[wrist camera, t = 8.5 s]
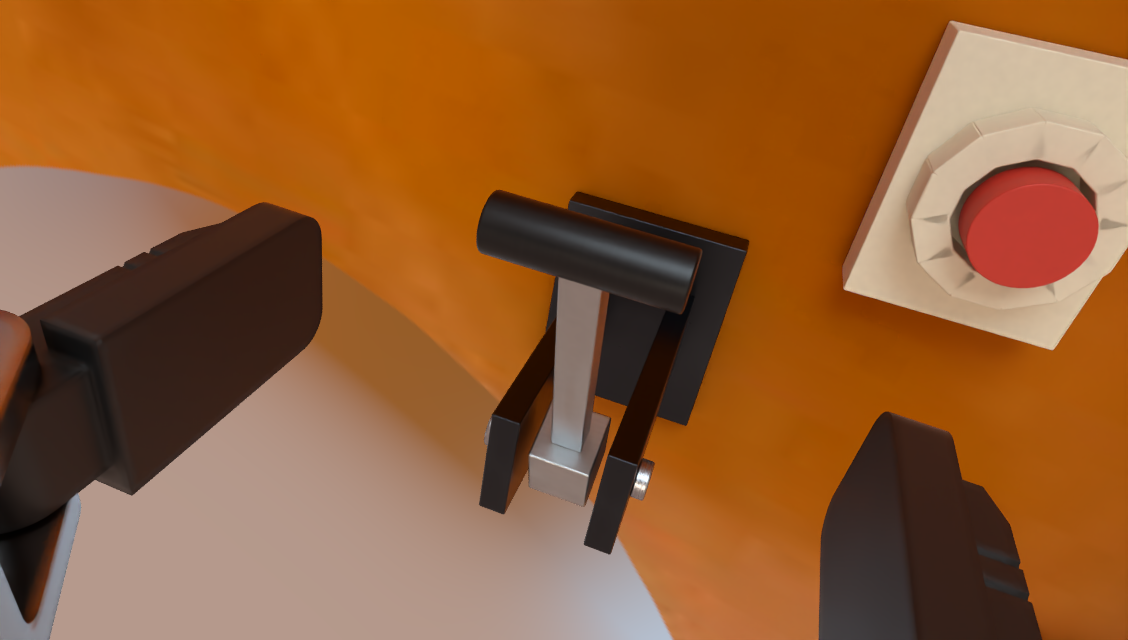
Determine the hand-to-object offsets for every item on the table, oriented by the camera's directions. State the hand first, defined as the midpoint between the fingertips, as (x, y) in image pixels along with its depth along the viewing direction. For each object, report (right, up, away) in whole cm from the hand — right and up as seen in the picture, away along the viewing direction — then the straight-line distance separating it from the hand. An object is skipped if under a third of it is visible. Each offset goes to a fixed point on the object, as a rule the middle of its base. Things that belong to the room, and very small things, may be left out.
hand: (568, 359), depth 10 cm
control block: (+16, +6, +17) cm, 24 cm away
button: (+15, +4, +14) cm, 21 cm away
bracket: (+4, +1, +25) cm, 25 cm away
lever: (+1, 0, +12) cm, 12 cm away
